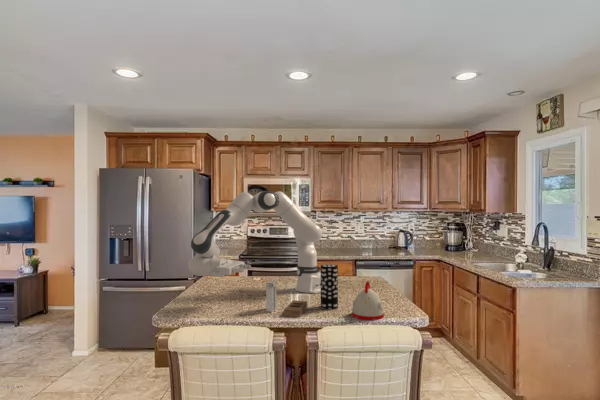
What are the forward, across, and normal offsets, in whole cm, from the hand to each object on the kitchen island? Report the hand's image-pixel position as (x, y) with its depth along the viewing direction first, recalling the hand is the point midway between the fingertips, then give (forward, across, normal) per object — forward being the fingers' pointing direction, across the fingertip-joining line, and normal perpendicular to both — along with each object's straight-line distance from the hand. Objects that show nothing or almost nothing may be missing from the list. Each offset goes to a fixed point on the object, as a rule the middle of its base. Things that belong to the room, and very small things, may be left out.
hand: (246, 268), depth 172 cm
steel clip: (+12, 0, +19) cm, 23 cm away
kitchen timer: (+57, +1, +19) cm, 60 cm away
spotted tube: (+38, +11, +19) cm, 44 cm away
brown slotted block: (+24, 0, +19) cm, 31 cm away
